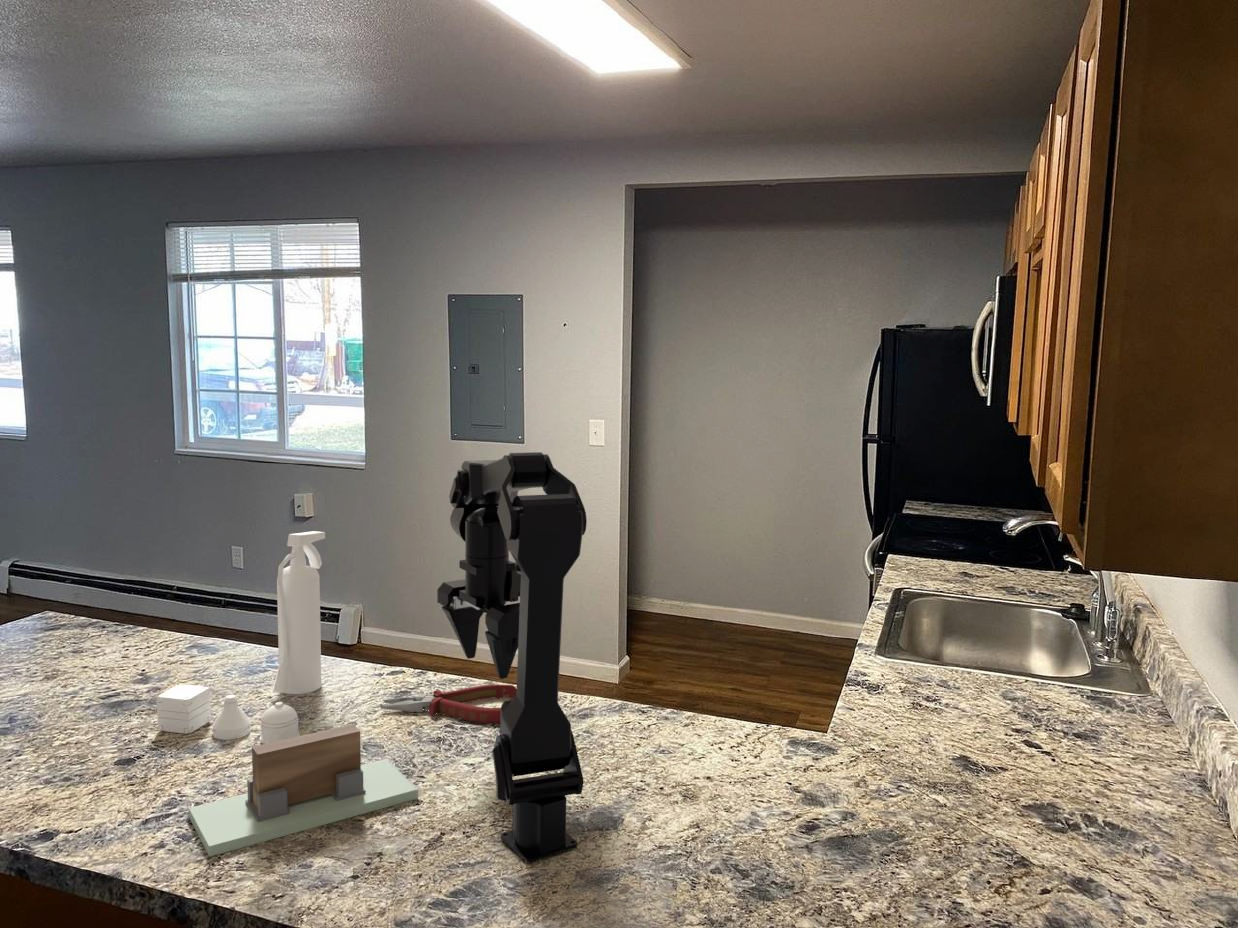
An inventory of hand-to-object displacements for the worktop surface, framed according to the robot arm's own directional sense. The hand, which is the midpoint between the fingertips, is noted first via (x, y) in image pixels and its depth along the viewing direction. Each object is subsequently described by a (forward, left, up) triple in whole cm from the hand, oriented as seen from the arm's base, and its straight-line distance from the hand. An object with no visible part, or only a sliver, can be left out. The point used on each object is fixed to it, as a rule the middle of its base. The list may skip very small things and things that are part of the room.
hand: (486, 667), depth 128 cm
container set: (+25, +27, -12) cm, 39 cm away
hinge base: (-2, +25, -12) cm, 28 cm away
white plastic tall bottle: (+37, +14, -12) cm, 41 cm away
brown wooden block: (-2, +25, -10) cm, 27 cm away
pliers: (+17, -4, -13) cm, 22 cm away
